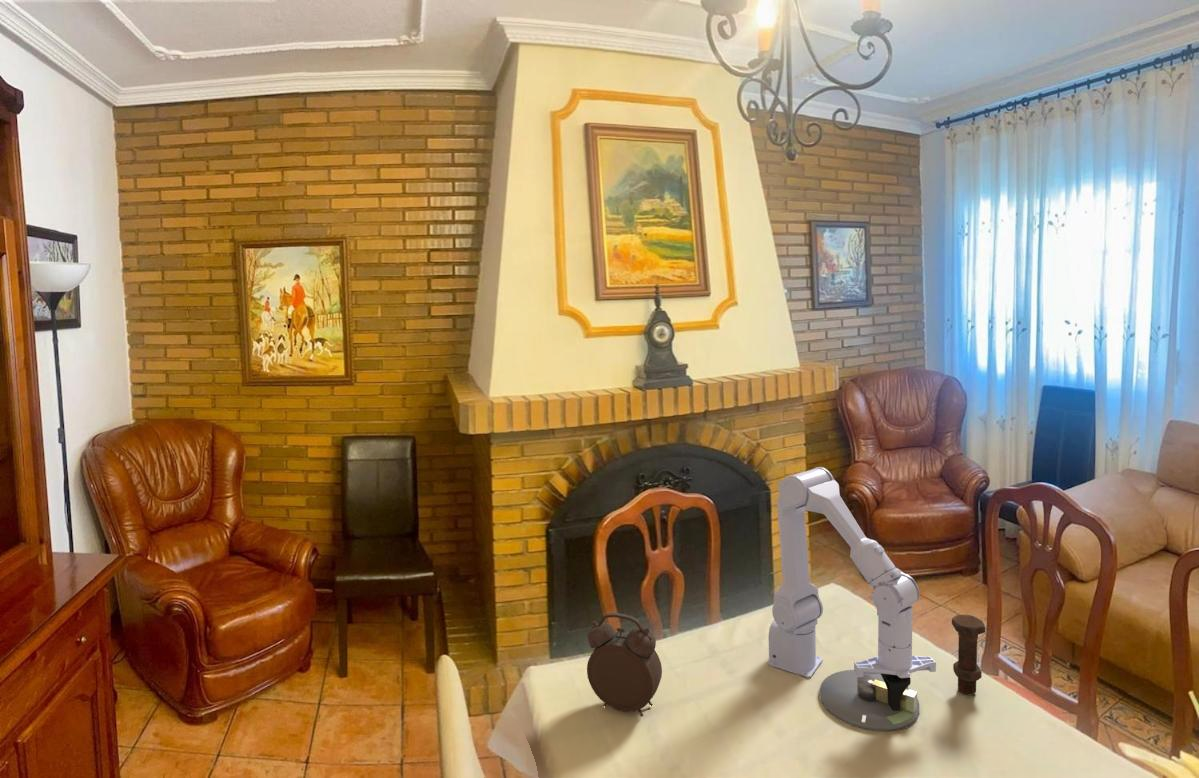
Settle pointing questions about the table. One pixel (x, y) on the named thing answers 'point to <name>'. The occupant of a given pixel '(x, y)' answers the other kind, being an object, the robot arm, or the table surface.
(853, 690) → the dial plate
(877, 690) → the peg lever
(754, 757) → the table surface
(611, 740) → the table surface
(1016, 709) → the table surface
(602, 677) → the alarm clock
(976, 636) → the bolt
